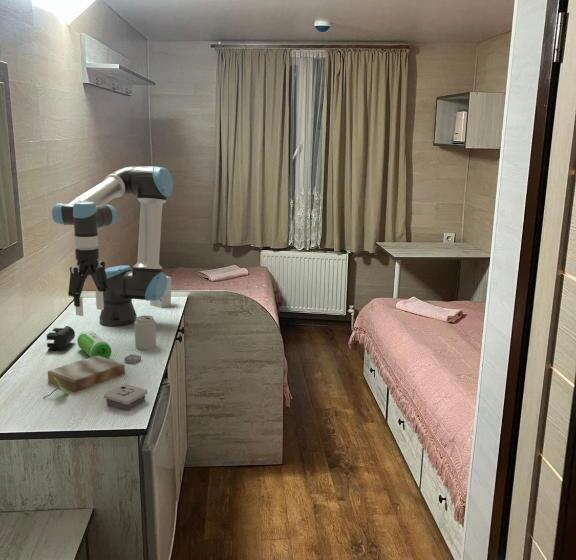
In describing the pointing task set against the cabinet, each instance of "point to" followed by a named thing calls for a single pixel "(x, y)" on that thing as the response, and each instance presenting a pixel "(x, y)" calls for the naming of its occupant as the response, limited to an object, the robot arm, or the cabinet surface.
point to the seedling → (59, 387)
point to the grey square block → (132, 359)
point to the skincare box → (164, 297)
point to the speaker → (93, 345)
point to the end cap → (60, 338)
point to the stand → (86, 373)
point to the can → (145, 333)
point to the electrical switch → (125, 397)
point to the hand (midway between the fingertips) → (90, 312)
